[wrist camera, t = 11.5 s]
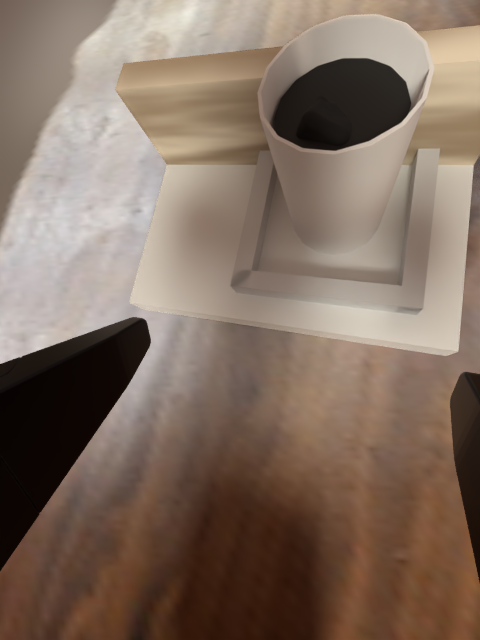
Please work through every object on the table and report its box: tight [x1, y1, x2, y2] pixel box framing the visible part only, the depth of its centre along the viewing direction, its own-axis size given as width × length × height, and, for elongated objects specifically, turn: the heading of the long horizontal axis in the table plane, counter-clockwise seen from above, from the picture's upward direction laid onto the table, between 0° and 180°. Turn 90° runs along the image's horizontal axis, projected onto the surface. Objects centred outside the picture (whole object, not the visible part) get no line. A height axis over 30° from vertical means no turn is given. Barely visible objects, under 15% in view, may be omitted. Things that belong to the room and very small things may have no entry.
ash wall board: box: [115, 25, 480, 165], centre depth 22 cm, size 2×22×9 cm, turn 78°
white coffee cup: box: [257, 14, 434, 255], centre depth 18 cm, size 7×7×10 cm
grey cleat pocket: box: [129, 148, 474, 356], centre depth 23 cm, size 12×22×4 cm, turn 78°
